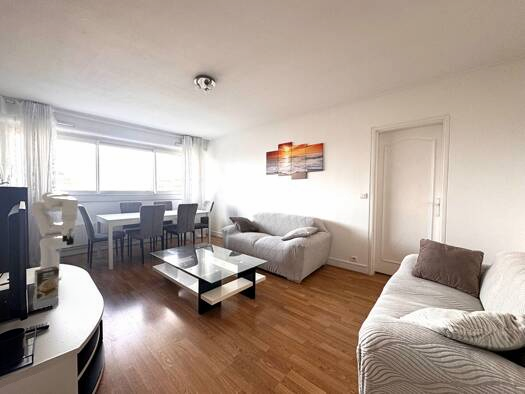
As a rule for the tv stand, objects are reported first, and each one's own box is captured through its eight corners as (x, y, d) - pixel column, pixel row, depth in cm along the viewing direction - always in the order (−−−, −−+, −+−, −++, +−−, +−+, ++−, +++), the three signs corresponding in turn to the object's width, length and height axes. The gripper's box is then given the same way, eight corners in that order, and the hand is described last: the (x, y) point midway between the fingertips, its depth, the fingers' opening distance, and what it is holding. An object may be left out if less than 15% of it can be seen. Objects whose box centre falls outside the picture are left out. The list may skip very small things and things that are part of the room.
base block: (33, 303, 121) (33, 295, 121) (57, 297, 128) (57, 290, 128) (32, 312, 113) (33, 303, 113) (58, 305, 121) (58, 297, 121)
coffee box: (36, 301, 115) (37, 273, 114) (33, 297, 118) (33, 270, 118) (58, 294, 123) (59, 268, 122) (55, 291, 126) (55, 265, 125)
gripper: (57, 215, 136) (56, 241, 137) (65, 219, 126) (63, 247, 127) (72, 215, 142) (71, 239, 143) (81, 219, 132) (79, 245, 133)
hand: (67, 243), depth 135 cm, fingers open, 9 cm apart
